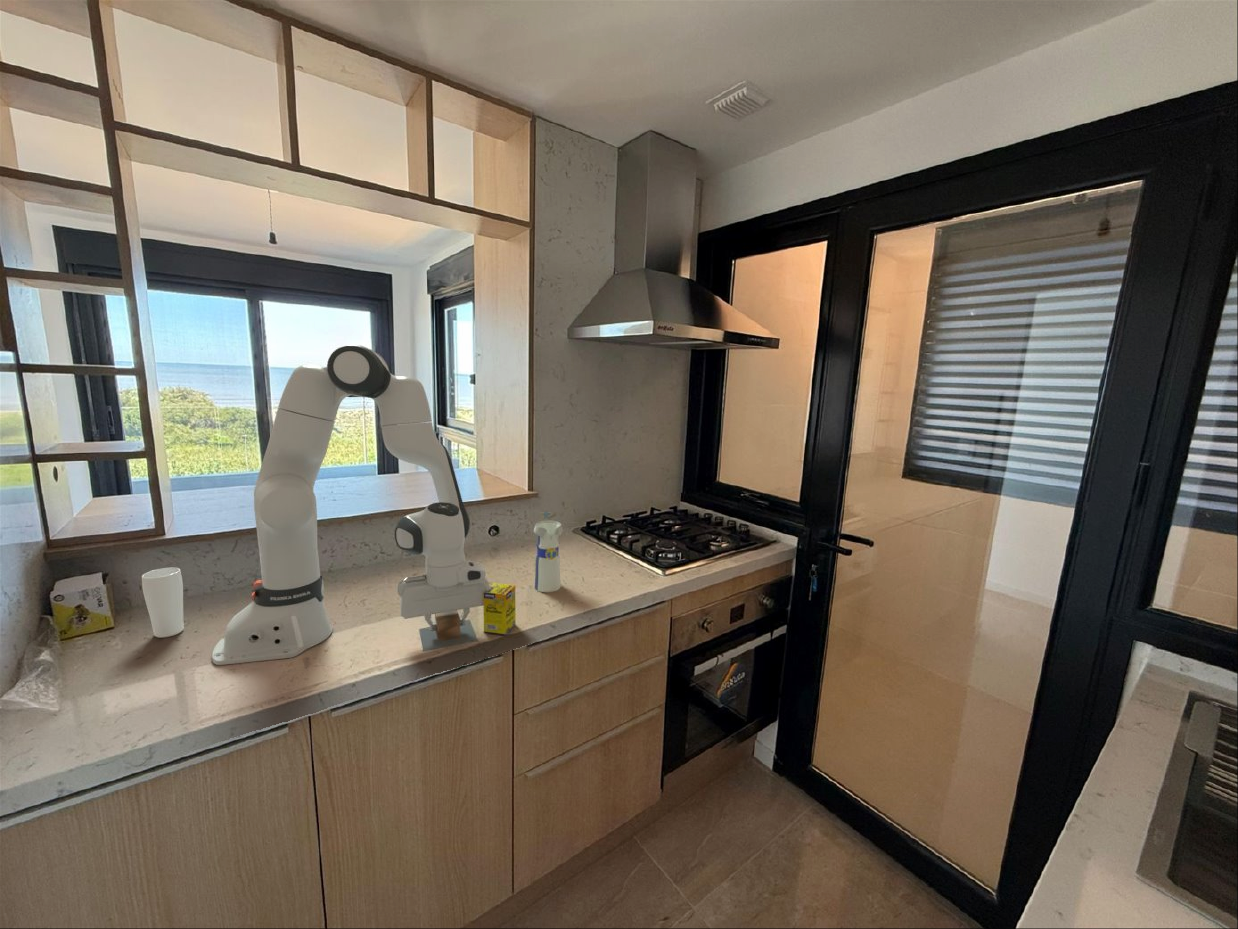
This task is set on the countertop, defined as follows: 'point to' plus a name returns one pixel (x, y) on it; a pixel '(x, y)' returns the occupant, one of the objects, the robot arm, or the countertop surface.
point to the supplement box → (499, 609)
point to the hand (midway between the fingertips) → (447, 627)
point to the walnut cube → (447, 625)
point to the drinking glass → (164, 600)
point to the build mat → (431, 640)
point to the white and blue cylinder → (547, 555)
